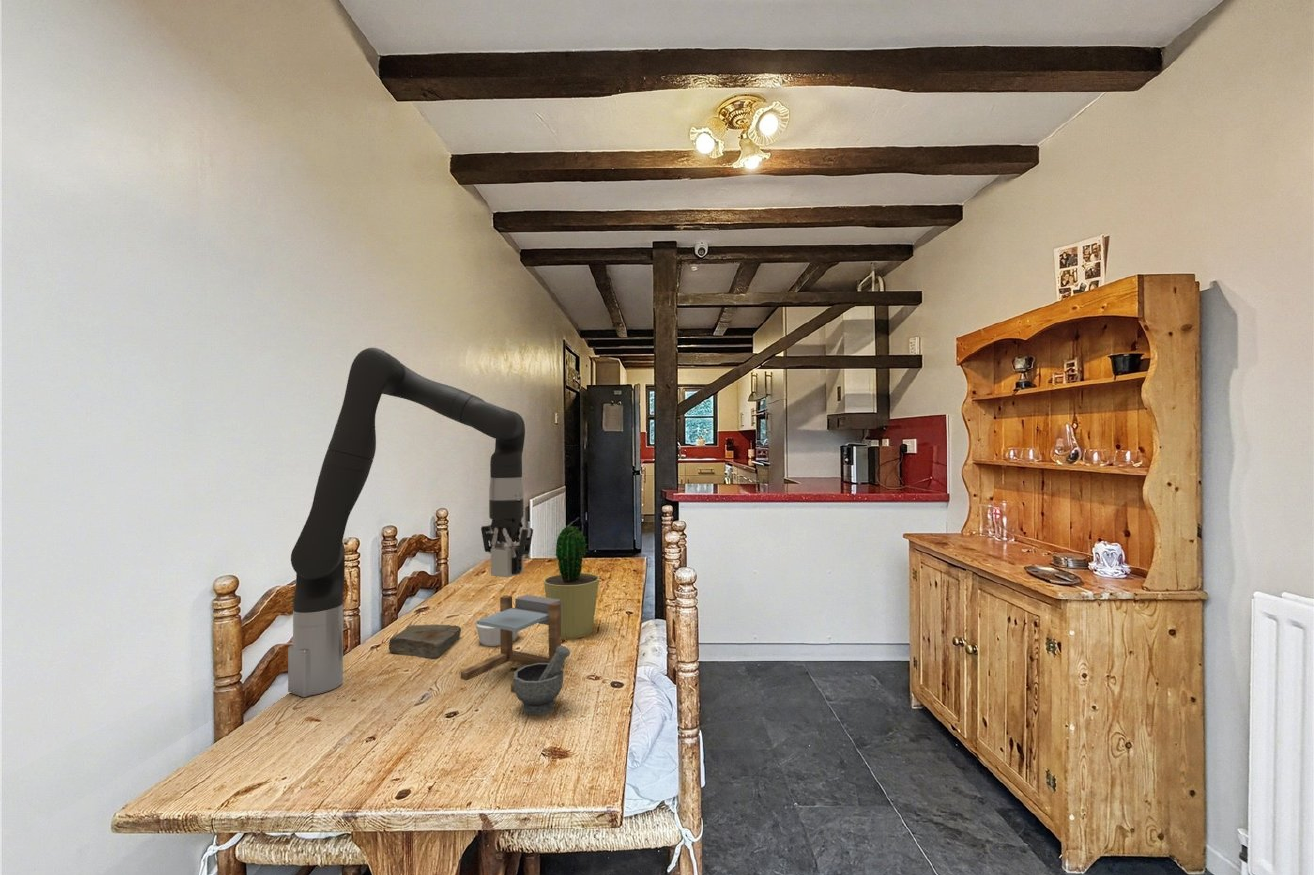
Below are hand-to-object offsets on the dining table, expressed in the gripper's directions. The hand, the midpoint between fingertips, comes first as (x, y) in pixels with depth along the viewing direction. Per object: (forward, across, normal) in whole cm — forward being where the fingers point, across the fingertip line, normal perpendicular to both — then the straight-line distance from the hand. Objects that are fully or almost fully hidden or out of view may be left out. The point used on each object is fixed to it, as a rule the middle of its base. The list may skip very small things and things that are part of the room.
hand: (506, 572), depth 122 cm
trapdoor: (+13, 0, +4) cm, 14 cm away
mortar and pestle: (+23, +17, -9) cm, 30 cm away
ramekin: (+23, -19, +16) cm, 34 cm away
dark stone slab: (+24, -33, +4) cm, 41 cm away
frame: (+23, 0, +2) cm, 23 cm away
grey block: (0, 0, 0) cm, 1 cm away
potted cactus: (+23, -5, +30) cm, 38 cm away
